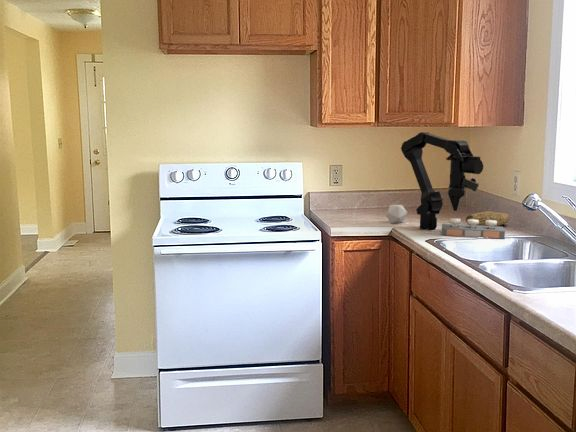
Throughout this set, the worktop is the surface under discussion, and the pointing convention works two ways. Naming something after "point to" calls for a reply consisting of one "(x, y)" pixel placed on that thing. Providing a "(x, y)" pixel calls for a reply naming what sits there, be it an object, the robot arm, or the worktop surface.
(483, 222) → the sponge
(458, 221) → the button left
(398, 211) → the die
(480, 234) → the board
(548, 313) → the worktop surface
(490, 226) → the button right
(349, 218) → the worktop surface
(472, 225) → the button middle
